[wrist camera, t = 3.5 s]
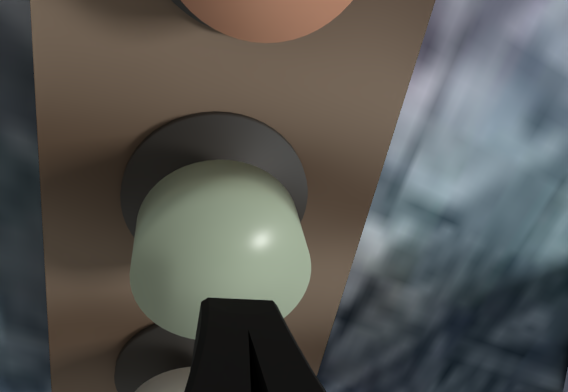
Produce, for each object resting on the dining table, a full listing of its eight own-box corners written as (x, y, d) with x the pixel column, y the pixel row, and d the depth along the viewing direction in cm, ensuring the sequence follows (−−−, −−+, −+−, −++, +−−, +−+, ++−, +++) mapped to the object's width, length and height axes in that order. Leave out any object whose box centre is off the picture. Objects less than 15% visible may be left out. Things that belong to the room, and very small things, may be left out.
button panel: (293, 380, 23) (303, 429, 21) (64, 379, 21) (51, 434, 19) (459, -204, 12) (509, -212, 11) (39, -315, 10) (5, -350, 9)
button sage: (282, 293, 15) (292, 342, 14) (132, 287, 14) (126, 339, 13) (312, 167, 13) (328, 209, 11) (139, 151, 12) (133, 194, 11)
